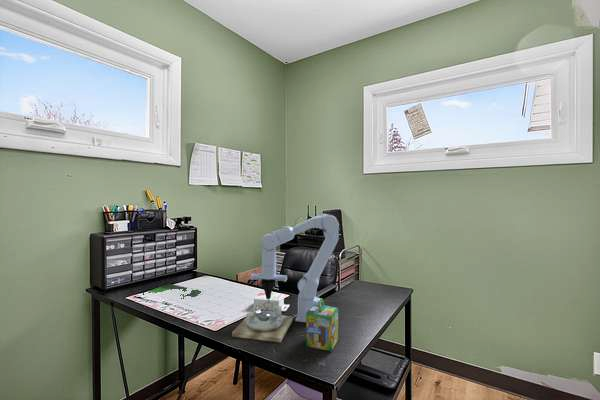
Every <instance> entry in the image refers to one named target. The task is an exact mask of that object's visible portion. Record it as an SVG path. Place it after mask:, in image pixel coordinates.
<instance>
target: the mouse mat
mask: <svg viewBox="0 0 600 400" xmlns="http://www.w3.org/2000/svg"><path fill="white" fill-rule="evenodd" d="M187 288H188V287H185V286H180V285H177V284H173V283H169V284H166V285H162V286H159V287H156V288H153V289H150V290H148V291H149V292H148V293H151V292H152V293H153V292H154V293H157V292H163V291H166V290H169V289H170V290H172V289H179V290H180V289H183V290H182V291H184V292H185V291H187V290H186V289H187ZM199 290H200V289H196V290H192V291H191V293H190V294H187V295H185V296H184V294H183V295H182V294H181V295H182V296H183V299H184V297H186V296H191V297H193V298H196V297H198V296H199V295H198V294H200V293H201V291H199ZM142 293H143V295H144V292H142ZM181 295H180V296H181ZM200 295H201V294H200ZM181 299H182V298H181ZM164 305H167V303H165V304H164Z"/></svg>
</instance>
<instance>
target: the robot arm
mask: <svg viewBox="0 0 600 400" xmlns="http://www.w3.org/2000/svg"><path fill="white" fill-rule="evenodd" d="M339 228H340V223H339V221H338V219H337V217H336V216H334V215H333V214H327V213H321V214H320V215H316V216H313V217H311V218H309V219H307V220H304V221H303V222H300V223H299V224H297V225H294V226H292V227H291V226H289V225H286V226H285V225H283V226H282V227H281V228H279V229H278V230H275V231H274V230H272V231H270V233H266V234H265V235H263V237H261V245H262V248H261V251H262V252H261V273H251V274H250V280H251V281H253V280H254V281H255V280H259V281H261V282H260V284H261V286H262V288H263V291H264V293H265V294H266V299H270V298H271V294H273V293H272V292H273V289H274V287H275V283H276V282H278V281H279V282H284V283H285V282H287V280H288V275H285V274H278V273H277V251H276V249H277V246H279V245H280V246H281V245H282V244H285V243H287V242H290V241H291V240H293V239H294V238H295V235H297V234H300V233H303V232H305V231H308V230H310V229H321V230H322V233H323V235H324V240H323V242H322V244H321V246H320V248H319V250H318V251H317V254H316V256H315V257H314V259H313V261H312V263H311V265H310V267H309V268H308V269H309V270H308V271H307V272H306V273H305V274H303V277H302V278H301V279H299V281H298V282H297V289H298V291H299V292H298V295H297V315H296V317H295V318H294V319H295V320H294V321H295V322H300V323H306V312H307V311H308V310H309V309H310V308H311V307H312V306H313V305H314V304H317V305H318V301H319V300H320V299H321V298H322V297H321V298H320V297H317V293H318V290H317V289H318V288H319V282H320V277H321V275H322V273H323V271H324V270H325V268H326V266H327V263H328V261H329V259H330V257H331V255H332V253H333V252H334V250H335V248H336V246H337V243H338V242H339V237H340V236H339V234H340V233H339ZM320 305H322V303H320Z"/></svg>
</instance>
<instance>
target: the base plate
mask: <svg viewBox="0 0 600 400" xmlns="http://www.w3.org/2000/svg"><path fill="white" fill-rule="evenodd" d="M250 313H253V311H252V312H250ZM282 316H283V325H282V326H281V327H280V328H278V329H276V330H273V331H268V332H257V331H253V330H250V329H248V328H247V327H246V317H244V319H243V320H242V321H241V322H240V324H239V325H237V326H236V328H235V329H233V331H232V332H231V337H234V338H242V339H251V340H258V341H266V342H273V343H274V342H275V343H282V341H283V340H284V337H285V335H286V334H287V332H288V330H289V329H290V326H292V323H293V321H294V316H290V315H282Z"/></svg>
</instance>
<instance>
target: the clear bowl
mask: <svg viewBox="0 0 600 400" xmlns="http://www.w3.org/2000/svg"><path fill="white" fill-rule="evenodd" d="M252 312H253V313H251V312H249V313H246V316H245V318H246V327H247V328H248V329H250V330H253V331H257V332H268V331H273V330H276V329H278V328H280V327H281V326H282V325H283V316H284V315H283V314H282V312H283V311H282V307H280V306H275V307H274V311H271V310H261V306H260V305H259V304H257V305H254V304H253V305H252Z"/></svg>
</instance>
